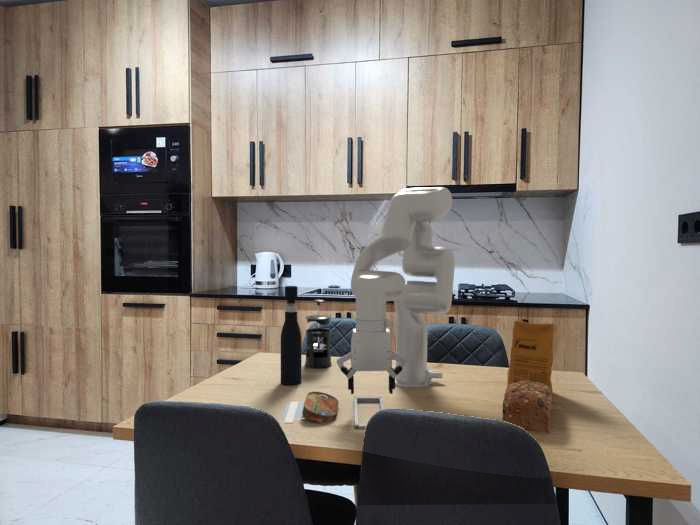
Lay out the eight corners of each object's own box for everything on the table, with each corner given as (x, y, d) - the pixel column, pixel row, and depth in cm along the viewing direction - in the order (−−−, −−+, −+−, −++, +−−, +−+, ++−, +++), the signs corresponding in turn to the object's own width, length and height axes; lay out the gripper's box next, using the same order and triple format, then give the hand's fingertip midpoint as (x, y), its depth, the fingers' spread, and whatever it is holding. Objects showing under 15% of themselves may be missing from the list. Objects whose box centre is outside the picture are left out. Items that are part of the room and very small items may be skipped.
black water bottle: (291, 388, 142) (291, 288, 140) (276, 383, 146) (276, 286, 144) (305, 382, 147) (306, 286, 145) (290, 378, 151) (290, 284, 149)
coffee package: (511, 389, 142) (513, 316, 141) (555, 397, 136) (558, 321, 134) (502, 399, 134) (504, 321, 133) (549, 407, 127) (552, 326, 126)
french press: (320, 369, 161) (321, 302, 160) (298, 365, 166) (298, 300, 165) (339, 361, 171) (339, 298, 170) (317, 358, 176) (317, 296, 175)
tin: (335, 418, 112) (301, 407, 112) (331, 431, 112) (297, 419, 112) (340, 397, 127) (310, 386, 127) (336, 408, 127) (306, 397, 127)
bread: (549, 445, 105) (551, 401, 104) (499, 436, 109) (500, 394, 108) (551, 416, 122) (553, 378, 121) (508, 409, 126) (509, 372, 125)
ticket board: (317, 407, 126) (317, 401, 126) (313, 428, 112) (313, 422, 112) (287, 406, 126) (287, 401, 126) (279, 428, 112) (279, 422, 112)
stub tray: (382, 405, 128) (382, 397, 128) (387, 435, 109) (388, 426, 108) (353, 404, 128) (353, 396, 128) (354, 435, 109) (354, 426, 108)
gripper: (404, 321, 121) (404, 386, 123) (336, 322, 121) (337, 387, 123) (407, 328, 114) (407, 397, 115) (335, 329, 114) (336, 398, 115)
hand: (371, 392), depth 119 cm, fingers open, 9 cm apart
